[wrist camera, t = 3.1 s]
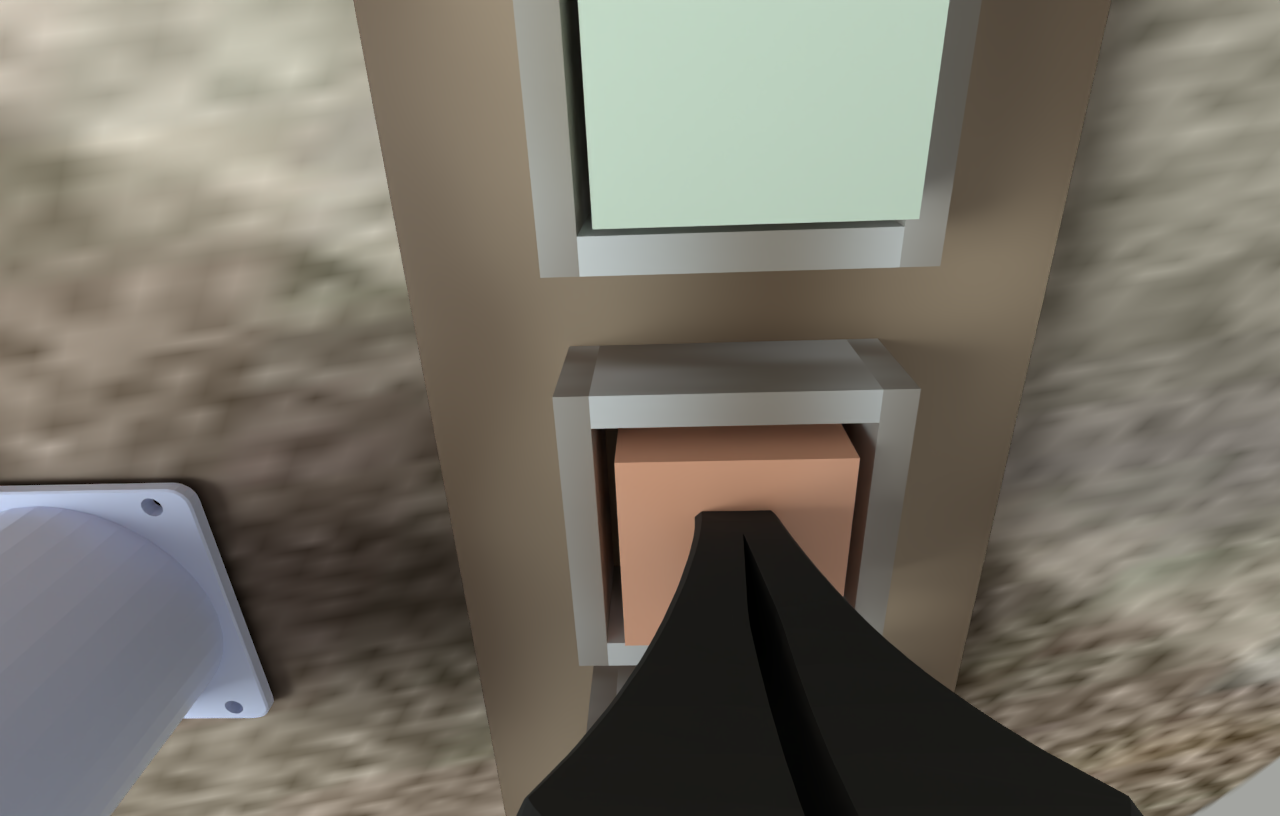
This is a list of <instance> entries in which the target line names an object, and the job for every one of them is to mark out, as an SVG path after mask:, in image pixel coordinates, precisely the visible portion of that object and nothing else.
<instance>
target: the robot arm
mask: <svg viewBox="0 0 1280 816" xmlns="http://www.w3.org/2000/svg"><path fill="white" fill-rule="evenodd" d="M153 499H154V500H155V501H157V502H159V503H160V505H161V506H162V507H161V506H159V505H157V504H156V503H155V502H154V501H153ZM273 702H274V699H273V695H272V692H271V690H270V687H269V684H268V682H267V679H266V676H265V674H264V671H263V668H262V666H261V663H260V660H259V657H258V655H257V652H256V649H255V647H254V644H253V641H252V639H251V636H250V633H249V631H248V628H247V625H246V623H245V620H244V617H243V615H242V612H241V609H240V606H239V604H238V601H237V598H236V596H235V593H234V590H233V588H232V585H231V582H230V580H229V577H228V574H227V572H226V569H225V566H224V564H223V561H222V558H221V555H220V553H219V550H218V547H217V545H216V542H215V539H214V537H213V534H212V531H211V529H210V526H209V523H208V521H207V518H206V515H205V513H204V510H203V507H202V504H201V502H200V499H199V497H198V496H197V494H196V493H195V492H194V491H193V490H192V489H191V488H190V487H188V486H185V485H183V484H180V483H126V484H73V485H19V486H0V816H110V815H111V814H112V813H113V811H114V810H115V809H116V807H117V806H118V805H119V803H120V802H121V801H122V799H123V798H124V797H125V795H126V794H127V793H128V791H129V790H130V789H131V787H132V786H133V785H134V783H135V782H136V781H137V779H138V778H139V777H140V775H141V774H142V773H143V771H144V770H145V769H146V767H147V766H148V765H149V763H150V762H151V761H152V759H153V758H154V757H155V755H156V754H157V753H158V751H159V750H160V749H161V747H162V746H163V745H164V743H165V742H166V741H167V739H168V738H169V736H170V735H171V734H172V732H173V731H174V730H175V728H176V727H177V726H178V724H179V723H180V722H181V720H182V719H183V718H257V717H262V716H264V715H266V714H267V712H268V711H269V709H270V708H271V706H272V704H273ZM516 816H1143V815H1142V813H1141V812H1140V811H1139V810H1138V808H1137V807H1136V806H1135V804H1134V803H1133V801H1132V800H1131V799H1130V798H1129V796H1127V795H1125V794H1124V793H1122V792H1120V791H1118V790H1116V789H1114V788H1112V787H1111V786H1109V785H1107V784H1105V783H1103V782H1101V781H1099V780H1098V779H1096V778H1094V777H1092V776H1090V775H1088V774H1086V773H1085V772H1083V771H1081V770H1079V769H1077V768H1075V767H1073V766H1072V765H1070V764H1068V763H1066V762H1064V761H1062V760H1060V759H1058V758H1057V757H1055V756H1053V755H1051V754H1049V753H1047V752H1046V751H1044V750H1042V749H1041V748H1039V747H1037V746H1035V745H1034V744H1032V743H1031V742H1029V741H1027V740H1026V739H1024V738H1022V737H1021V736H1019V735H1018V734H1016V733H1014V732H1013V731H1011V730H1009V729H1008V728H1006V727H1005V726H1003V725H1001V724H1000V723H998V722H996V721H995V720H993V719H992V718H990V717H989V716H987V715H986V714H984V713H983V712H981V711H980V710H978V709H977V708H975V707H974V706H972V705H971V704H969V703H968V702H966V701H965V700H964V699H962V698H961V697H959V696H958V695H957V694H955V693H954V692H952V691H951V690H950V689H948V688H947V687H946V686H944V685H943V684H941V683H940V682H939V681H937V680H936V679H935V678H933V677H932V676H930V675H929V674H928V673H927V672H925V671H924V670H923V669H921V668H920V667H919V666H918V665H916V664H915V663H914V662H912V661H911V660H910V659H909V658H908V657H906V656H905V655H904V654H903V653H902V652H901V651H899V650H898V649H897V648H896V647H895V646H894V645H892V644H891V643H890V642H889V641H888V640H886V639H885V638H884V637H883V636H882V635H881V634H880V633H879V632H878V631H877V630H876V629H875V628H874V627H872V626H871V625H870V624H869V623H868V622H867V621H866V620H865V619H864V618H863V617H862V616H861V615H860V614H859V613H858V612H857V611H856V610H855V609H854V608H853V607H852V606H851V605H850V604H849V603H848V602H847V601H846V599H845V598H844V597H843V596H842V595H841V594H840V593H839V592H838V591H837V590H836V589H835V588H834V586H833V585H832V584H831V583H830V582H829V581H828V580H827V578H826V577H825V576H824V575H823V574H822V573H821V572H820V571H819V569H818V568H817V567H816V566H815V565H814V564H813V562H812V561H811V560H810V559H809V558H808V556H807V555H806V554H805V553H804V551H803V550H802V549H801V547H800V546H799V545H798V544H797V542H796V541H795V540H794V538H793V537H792V536H791V535H790V533H789V532H788V530H787V529H786V528H785V526H784V525H783V524H782V522H781V521H780V519H779V518H778V517H777V515H776V514H775V513H774V512H772V511H771V510H757V511H701V512H700V513H699V514H698V515H696V516H695V529H694V536H693V541H692V545H691V549H690V552H689V556H688V559H687V562H686V565H685V568H684V571H683V574H682V576H681V579H680V582H679V585H678V587H677V590H676V592H675V594H674V596H673V598H672V601H671V603H670V605H669V607H668V609H667V612H666V614H665V616H664V618H663V620H662V622H661V624H660V626H659V628H658V630H657V632H656V634H655V636H654V637H653V639H652V641H651V643H650V644H649V646H648V648H647V650H646V651H645V653H644V655H643V656H642V658H641V660H640V661H639V663H638V664H637V666H636V667H635V669H634V670H633V672H632V673H631V675H630V676H629V678H628V679H627V681H626V682H625V684H624V685H623V687H622V688H621V690H620V691H619V692H618V694H617V695H616V697H615V698H614V699H613V701H612V702H611V703H610V705H609V706H608V707H607V709H606V710H605V711H604V712H603V713H602V715H601V716H600V717H599V718H598V720H597V721H596V722H595V723H594V724H593V726H592V727H591V728H590V729H589V730H588V732H587V733H586V734H585V735H584V737H583V738H582V739H581V740H580V741H579V743H578V744H577V745H576V746H575V747H574V748H573V749H572V750H571V752H570V753H569V754H568V755H567V756H566V757H565V758H564V759H563V760H562V761H561V762H560V763H559V764H558V765H557V766H556V767H555V768H554V769H553V770H552V771H551V772H550V773H549V774H548V775H547V776H546V777H545V778H544V779H543V780H542V781H541V782H540V783H539V784H538V785H537V786H536V787H535V788H534V789H533V790H532V791H531V792H530V793H529V794H528V795H527V796H526V797H525V799H524V800H523V802H522V805H521V807H520V809H519V811H518V813H517V815H516Z"/></svg>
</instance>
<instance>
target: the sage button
mask: <svg viewBox="0 0 1280 816" xmlns="http://www.w3.org/2000/svg"><path fill="white" fill-rule="evenodd" d="M948 8H949V0H578V12H579V27H580V43H581V58H582V74H583V89H584V105H585V120H586V136H587V151H588V167H589V182H590V198H591V214H592V229H622V228H654V227H686V226H717V225H749V224H781V223H813V222H844V221H876V220H908V219H919V217H920V209H921V202H922V195H923V188H924V181H925V173H926V166H927V159H928V152H929V145H930V137H931V130H932V123H933V116H934V109H935V101H936V94H937V87H938V80H939V72H940V65H941V58H942V51H943V44H944V36H945V29H946V22H947V15H948Z"/></svg>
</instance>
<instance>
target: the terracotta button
mask: <svg viewBox="0 0 1280 816" xmlns="http://www.w3.org/2000/svg"><path fill="white" fill-rule="evenodd" d="M859 462H860V457H859V455H858V454H857V452H856V450H855V448H854V446H853V444H852V443H851V441H850V439H849V437H848V435H847V433H846V431H845V430H844V428H843V426H842V424H794V425H746V426H699V427H651V428H618V435H617V444H616V452H615V461H614V466H615V483H616V500H617V517H618V533H619V550H620V567H621V584H622V601H623V618H624V634H625V646H639V645H649V644H650V643H651V641H652V639H653V637H654V636H655V634H656V632H657V630H658V628H659V626H660V624H661V622H662V620H663V618H664V616H665V614H666V612H667V609H668V607H669V605H670V603H671V601H672V598H673V596H674V594H675V592H676V590H677V587H678V585H679V582H680V579H681V576H682V574H683V571H684V568H685V565H686V562H687V559H688V556H689V552H690V549H691V545H692V541H693V536H694V529H695V516H696V515H698V514H699V513H700V512H701V511H757V510H771V511H772V512H774V513H775V514H776V515H777V517H778V518H779V519H780V521H781V522H782V524H783V525H784V526H785V528H786V529H787V530H788V532H789V533H790V535H791V536H792V537H793V538H794V540H795V541H796V542H797V544H798V545H799V546H800V547H801V549H802V550H803V551H804V553H805V554H806V555H807V556H808V558H809V559H810V560H811V561H812V562H813V564H814V565H815V566H816V567H817V568H818V569H819V571H820V572H821V573H822V574H823V575H824V576H825V577H826V578H827V580H828V581H829V582H830V583H831V584H832V585H833V586H834V588H835V589H836V590H837V591H838V592H839V593H840V594H841V595H842V596H844V588H845V579H846V571H847V563H848V554H849V546H850V538H851V529H852V521H853V513H854V504H855V496H856V488H857V479H858V471H859Z"/></svg>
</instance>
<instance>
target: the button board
mask: <svg viewBox="0 0 1280 816" xmlns="http://www.w3.org/2000/svg"><path fill="white" fill-rule="evenodd" d="M353 1H354V6H355V12H356V17H357V22H358V28H359V33H360V38H361V44H362V49H363V54H364V60H365V65H366V70H367V76H368V81H369V86H370V92H371V97H372V103H373V108H374V113H375V119H376V124H377V129H378V135H379V140H380V145H381V151H382V156H383V161H384V167H385V172H386V177H387V183H388V188H389V193H390V199H391V204H392V210H393V215H394V220H395V226H396V231H397V236H398V242H399V247H400V252H401V258H402V263H403V268H404V274H405V279H406V284H407V290H408V295H409V300H410V306H411V311H412V316H413V322H414V327H415V333H416V338H417V343H418V349H419V354H420V359H421V365H422V370H423V375H424V381H425V386H426V391H427V397H428V402H429V407H430V413H431V418H432V423H433V429H434V434H435V440H436V445H437V450H438V456H439V461H440V466H441V472H442V477H443V482H444V488H445V493H446V498H447V504H448V509H449V514H450V520H451V525H452V530H453V536H454V541H455V547H456V552H457V557H458V563H459V568H460V573H461V579H462V584H463V589H464V595H465V600H466V605H467V611H468V616H469V621H470V627H471V632H472V637H473V643H474V648H475V653H476V659H477V664H478V670H479V675H480V680H481V686H482V691H483V696H484V702H485V707H486V712H487V718H488V723H489V728H490V734H491V739H492V744H493V750H494V755H495V760H496V766H497V771H498V777H499V782H500V787H501V793H502V798H503V803H504V809H505V814H506V816H516V815H517V813H518V811H519V809H520V807H521V805H522V802H523V800H524V799H525V797H526V796H527V795H528V794H529V793H530V792H531V791H532V790H533V789H534V788H535V787H536V786H537V785H538V784H539V783H540V782H541V781H542V780H543V779H544V778H545V777H546V776H547V775H548V774H549V773H550V772H551V771H552V770H553V769H554V768H555V767H556V766H557V765H558V764H559V763H560V762H561V761H562V760H563V759H564V758H565V757H566V756H567V755H568V754H569V753H570V752H571V750H572V749H573V748H574V747H575V746H576V745H577V744H578V743H579V741H580V740H581V739H582V738H583V737H584V735H585V734H586V733H587V732H588V730H589V729H590V728H591V727H592V726H593V724H594V723H595V722H596V721H597V720H598V718H599V717H600V716H601V715H602V713H603V712H604V711H605V710H606V709H607V707H608V706H609V705H610V703H611V702H612V701H613V699H614V698H615V697H616V695H617V694H618V692H619V691H620V690H621V688H622V687H623V685H624V684H625V682H626V681H627V679H628V678H629V676H630V675H631V673H632V672H633V670H634V669H635V667H636V666H637V664H638V663H639V661H640V660H641V658H642V656H643V655H644V653H645V651H646V650H647V648H648V646H649V645H639V646H625V634H624V618H623V601H622V584H621V567H620V550H619V533H618V517H617V500H616V483H615V466H614V461H615V452H616V444H617V435H618V428H651V427H699V426H746V425H794V424H842V426H843V428H844V430H845V431H846V433H847V435H848V437H849V439H850V441H851V443H852V444H853V446H854V448H855V450H856V452H857V454H858V455H859V457H860V462H859V471H858V479H857V488H856V496H855V504H854V513H853V521H852V529H851V538H850V546H849V554H848V563H847V571H846V579H845V588H844V596H843V597H844V598H845V599H846V601H847V602H848V603H849V604H850V605H851V606H852V607H853V608H854V609H855V610H856V611H857V612H858V613H859V614H860V615H861V616H862V617H863V618H864V619H865V620H866V621H867V622H868V623H869V624H870V625H871V626H872V627H874V628H875V629H876V630H877V631H878V632H879V633H880V634H881V635H882V636H883V637H884V638H885V639H886V640H888V641H889V642H890V643H891V644H892V645H894V646H895V647H896V648H897V649H898V650H899V651H901V652H902V653H903V654H904V655H905V656H906V657H908V658H909V659H910V660H911V661H912V662H914V663H915V664H916V665H918V666H919V667H920V668H921V669H923V670H924V671H925V672H927V673H928V674H929V675H930V676H932V677H933V678H935V679H936V680H937V681H939V682H940V683H941V684H943V685H944V686H946V687H947V688H948V689H950V690H951V691H952V692H954V691H955V687H956V683H957V678H958V674H959V669H960V665H961V661H962V656H963V652H964V647H965V643H966V639H967V634H968V630H969V625H970V621H971V617H972V612H973V608H974V603H975V599H976V595H977V590H978V586H979V581H980V577H981V573H982V568H983V564H984V559H985V555H986V551H987V546H988V542H989V537H990V533H991V528H992V524H993V520H994V515H995V511H996V506H997V502H998V498H999V493H1000V489H1001V484H1002V480H1003V476H1004V471H1005V467H1006V462H1007V458H1008V454H1009V449H1010V445H1011V440H1012V436H1013V432H1014V427H1015V423H1016V418H1017V414H1018V410H1019V405H1020V401H1021V396H1022V392H1023V388H1024V383H1025V379H1026V374H1027V370H1028V366H1029V361H1030V357H1031V352H1032V348H1033V344H1034V339H1035V335H1036V330H1037V326H1038V322H1039V317H1040V313H1041V308H1042V304H1043V300H1044V295H1045V291H1046V286H1047V282H1048V278H1049V273H1050V269H1051V264H1052V260H1053V256H1054V251H1055V247H1056V242H1057V238H1058V234H1059V229H1060V225H1061V220H1062V216H1063V212H1064V207H1065V203H1066V198H1067V194H1068V190H1069V185H1070V181H1071V176H1072V172H1073V167H1074V163H1075V159H1076V154H1077V150H1078V145H1079V141H1080V137H1081V132H1082V128H1083V123H1084V119H1085V115H1086V110H1087V106H1088V101H1089V97H1090V93H1091V88H1092V84H1093V79H1094V75H1095V71H1096V66H1097V62H1098V57H1099V53H1100V49H1101V44H1102V40H1103V35H1104V31H1105V27H1106V22H1107V18H1108V13H1109V9H1110V5H1111V0H949V8H948V15H947V22H946V29H945V36H944V44H943V51H942V58H941V65H940V72H939V80H938V87H937V94H936V101H935V109H934V116H933V123H932V130H931V137H930V145H929V152H928V159H927V166H926V173H925V181H924V188H923V195H922V202H921V209H920V217H919V219H908V220H876V221H844V222H813V223H781V224H749V225H717V226H686V227H654V228H622V229H592V214H591V198H590V182H589V167H588V151H587V136H586V120H585V105H584V89H583V74H582V58H581V43H580V27H579V12H578V0H353Z"/></svg>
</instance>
